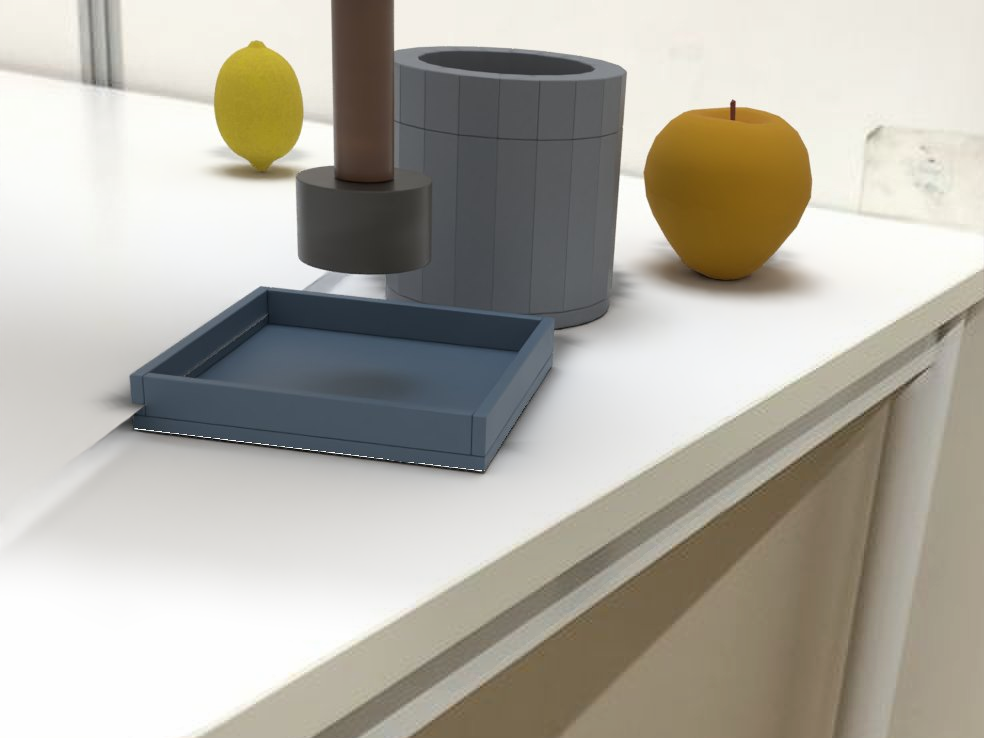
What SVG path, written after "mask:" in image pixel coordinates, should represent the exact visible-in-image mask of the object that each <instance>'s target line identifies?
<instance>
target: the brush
mask: <svg viewBox="0 0 984 738" xmlns="http://www.w3.org/2000/svg"><path fill="white" fill-rule="evenodd" d="M330 16H331V17H330V18H331V19H330V22H331V25H330V26H331V78H332V80H331V81H332V124H333V125H332V130H333V131H332V133H333V137H332V138H333V165H325V166H324V165H323V166H316V167H311V168H307V169H304V170H301V171H299V172H297V173H296V175H295V204H296V208H295V209H296V241H297V244H296V245H297V257H298V260H299V261H300V262H302V263H303V264H305V265H307V266H309V267H312V268H315V269H318V270H323V271H325V272H326V271H327V272H333V273H338V274H348V275H363V276H364V275H366V276H367V275H368V276H370V275H371V276H373V275H385V274H395V273H403V272H409V271H413V270H417V269H420V268H423V267H425V266H427V265H428V264H429V263H430V262H431V258H432V180H431V178H429V177H428V176H426V175H424V174H421V173H419V172H415V171H411V170H406V169H401V168H394V51H395V0H330Z"/></svg>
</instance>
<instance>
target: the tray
mask: <svg viewBox="0 0 984 738" xmlns="http://www.w3.org/2000/svg"><path fill="white" fill-rule="evenodd" d="M554 325H555V319H554V318H548V317H544V318H543V317H539V316H530V315H521V314H512V313H502V312H493V311H484V310H475V309H466V308H457V307H448V306H439V305H430V304H420V303H411V302H402V301H393V300H388V299H385V298H384V299H382V298H374V297H365V296H364V297H363V296H357V295H355V296H354V295H346V294H337V293H327V292H319V291H311V290H301V289H291V288H282V287H273V286H263V285H260V286H258V287H257V288H255V289H254V290H252V291H251V292H250V293H248V294H247V295H245V296H244V297H242V298H241V299H239V300H237V301H236V302H235V303H233V304H232V305H230V306H229V307H227V308H226V309H225V310H223V311H221V312H220V313H218V314H217V315H215V316H214V317H212V318H211V319H210V320H208V321H207V322H205V323H204V324H202V325H201V326H199V327H198V328H196V329H195V330H193V331H192V332H190V333H189V334H187V335H186V336H185V337H183V338H182V339H180V340H179V341H177V342H176V343H174V344H172V346H170V347H168V348H167V349H165V350H164V351H163V352H161V353H160V354H158V355H157V356H155V357H154V358H152V359H151V360H149V361H148V362H147V363H145V364H143V365H142V366H141V367H139V368H138V369H136V370H135V371H133V372H132V373H130V374H129V386H130V387H129V388H130V398H131V400H130V401H131V404H137V405H144V406H142V407H141V408H140V409H138V410H137V411H136V412H134V413H133V415H132V424H133V429H134V428H138V429H146V430H154V431H162V432H170V433H179V434H187V435H195V436H203V437H211V438H220V439H228V440H236V441H244V442H252V443H261V444H269V445H277V446H285V447H293V448H302V449H310V450H318V451H326V452H335V453H343V454H351V455H359V456H367V457H374V458H383V459H384V460H383V461H385V460H387V459H389V460H394V461H401V462H400V463H402V462H414V463H417V464H416V465H418V463H425V464H433V465H441V466H449V467H458V468H466V469H474V470H482V471H484V470H485V469H486V468H488V467H489V465H490V464H491V462H492V461H493V459H494V458H495V456H496V454H497V453H498V451H499V450H498V449H500V448H501V447H502V445H503V443H504V442H505V440H506V439H507V437H508V435H509V434H510V432H511V431H512V429H513V428H514V426H515V424H516V423H517V421H518V420H519V418H520V417H519V416H521V415H522V413H523V412H524V410H525V409H526V407H527V406H528V404H529V402H530V401H531V399H532V398H533V396H534V395H533V394H535V393H536V391H537V390H538V388H539V387H540V386H541V383H542V382H543V380H544V379H545V378H546V376H547V374H548V373H549V372H550V370H551V368H552V366H553V363H554V361H553V360H554V359H553V358H554V345H555V344H554V343H555V329H554ZM531 397H532V398H531ZM529 400H530V401H529ZM526 405H527V406H526ZM525 406H526V407H525ZM524 408H525V409H524ZM523 409H524V410H523ZM522 411H523V412H522ZM520 414H521V415H520ZM518 417H519V418H518ZM517 419H518V420H517ZM516 420H517V421H516ZM515 422H516V423H515ZM513 425H514V426H513ZM512 427H513V428H512ZM511 428H512V429H511ZM510 430H511V431H510ZM509 431H510V432H509ZM508 433H509V434H508ZM506 436H507V437H506ZM505 438H506V439H505ZM504 439H505V440H504ZM503 441H504V442H503ZM502 442H503V443H502ZM501 444H502V445H501ZM499 447H500V448H499ZM497 450H498V451H497ZM496 452H497V453H496ZM495 453H496V454H495ZM494 455H495V456H494ZM492 458H493V459H492ZM491 460H492V461H491ZM490 461H491V462H490ZM489 463H490V464H489ZM488 464H489V465H488ZM487 466H488V467H487ZM486 470H487V469H486ZM486 470H485V471H486Z"/></svg>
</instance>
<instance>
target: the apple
mask: <svg viewBox="0 0 984 738" xmlns="http://www.w3.org/2000/svg"><path fill="white" fill-rule="evenodd" d="M643 180H644V188H645V189H644V190H645V198H646V200H647V203H648V206H649V209H650V212H651V214H652V216H653V218H654V220H655V222H656V223H657V225H658V227H659V229H660V230H661V233H662V234H663V236H664V238H665V239H666V241H667V242H668V243H669V245H670V247H671V248H672V249H673V251H674V252H675V253H676V254H677V256H678V257H679V259H680V261H682V262H683V264H684V265H685V266H687V267H688V268H689V269H690V270H693V271H695V272H697V273H699V274H701V275H703V276H705V277H707V278H710V279H713V280H722V281H731V280H740V279H743V278H745V277H748V276H750V275H751V274H753V273H755V272H757V271H758V270H760V269H761V268H762V266H764V265H765V264H766V262H767V261H769V260H770V258H772V256H773V255H774V254H775V253H776V252H777V251H778V250H779V249H780V248H781V247H782V245H783V244H784V243H785V242H786V240H787V239H789V237H790V235H791V234H792V233H793V232H794V231H795V230H796V229H797V227H798V225H800V224H799V223H800V222H801V219H802V217H803V215H804V213H805V212H806V209H807V208H808V205H809V202H810V201H811V199H812V190H813V189H812V188H813V175H812V169H811V163H810V154H809V151H808V148H807V145H805V143H804V141H803V138H802V137H801V135H800V133H799V131H797V130H796V129H795V128H794V127H793V126H792V125H791V124H790V123H789V122H788V121H787V120H785V119H784V118H782V117H781V116H780V115H777V114H775V113H772V112H769V111H766V110H761V109H756V108H753V107H752V108H751V107H746V106H745V107H744V106H737V101H736V100H735V99H731V100H730V102H729V106H726V107H711V108H699V109H697V108H696V109H690V110H687V111H683V112H682V113H680V114H679V115H677V116H676V117H673V118H672V119H671V120H670V121H669V122H668V123H667V124H666V125H665V126H664V127H663V128H662V129H661V130H660V131H659V132H658V134H657V135H656V136H655V137H654V140H653V141H652V143H651V146H650V148H649V150H648V152H647V155H646V160H645V164H644V169H643ZM730 279H731V280H730Z"/></svg>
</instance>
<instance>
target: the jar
mask: <svg viewBox="0 0 984 738" xmlns="http://www.w3.org/2000/svg"><path fill="white" fill-rule="evenodd" d="M627 77H628V71H627V70H626V69H625V68H624V67H622V66H621V65H619V64H616V63H614V62H610V61H607V60H603V59H599V58H594V57H588V56H583V55H577V54H569V53H563V52H562V53H561V52H553V51H547V50H536V49H526V48H525V49H524V48H515V47H514V48H512V47H493V46H474V45H473V46H467V45H466V46H464V45H462V46H460V45H459V46H457V45H437V46H436V45H435V46H418V47H408V48H401V49H397V50H394V168H401V169H406V170H411V171H415V172H419V173H421V174H424V175H426V176H428V177H429V178H431V180H432V258H431V262H430V263H429V264H428V265H427V266H425V267H423V268H420V269H417V270H413V271H409V272H403V273H395V274H384V276H385V277H384V278H385V297H386V300H393V301H402V302H411V303H420V304H430V305H439V306H448V307H457V308H466V309H475V310H484V311H493V312H502V313H512V314H521V315H530V316H539V317H543V318H544V317H548V318H554V319H555V325H554V330H556V329H564V328H569V327H570V328H571V327H574V326H579V325H583V324H587V323H590V322H592V321H594V320H597V319H600V318H601V317H602V316H604V315H605V314H606V313H607V311H608V310H609V308H610V303H611V291H612V289H613V277H614V262H615V249H616V248H615V247H616V246H615V245H616V234H617V219H618V207H619V206H618V205H619V192H620V180H621V179H620V177H621V165H622V164H621V163H622V150H623V148H622V147H623V137H624V136H623V134H624V121H625V120H624V119H625V106H626V105H625V104H626V93H627V92H626V91H627V79H628V78H627Z"/></svg>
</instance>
